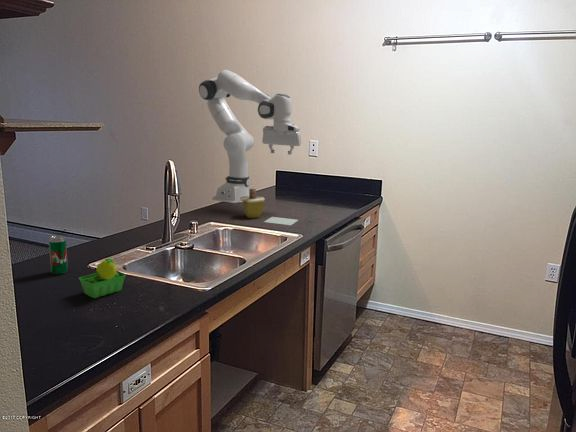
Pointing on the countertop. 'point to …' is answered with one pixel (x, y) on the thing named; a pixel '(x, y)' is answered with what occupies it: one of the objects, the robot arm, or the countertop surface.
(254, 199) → the lid
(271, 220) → the mat
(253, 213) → the flower pot
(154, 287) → the countertop surface
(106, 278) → the fruit basket
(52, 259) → the soda can
